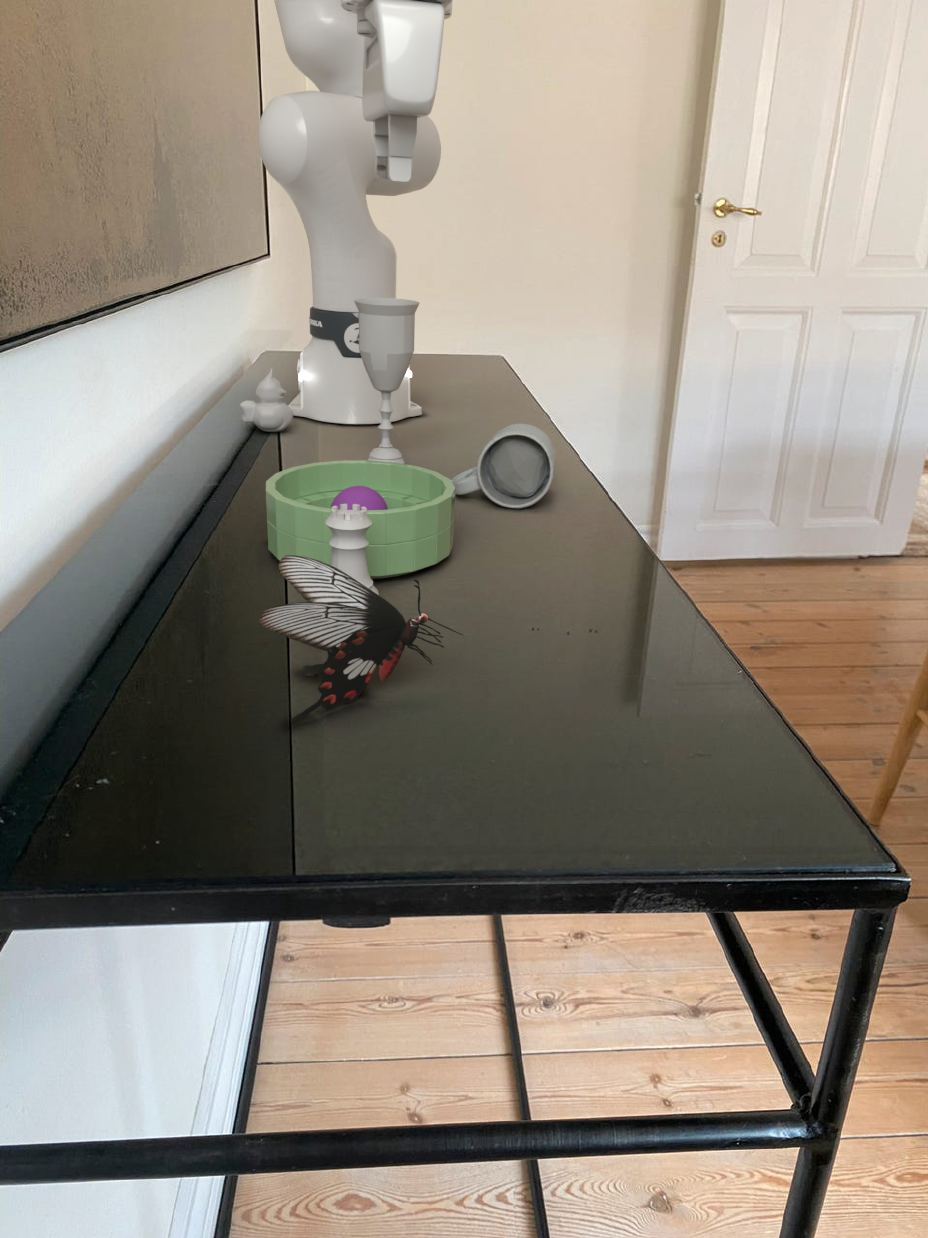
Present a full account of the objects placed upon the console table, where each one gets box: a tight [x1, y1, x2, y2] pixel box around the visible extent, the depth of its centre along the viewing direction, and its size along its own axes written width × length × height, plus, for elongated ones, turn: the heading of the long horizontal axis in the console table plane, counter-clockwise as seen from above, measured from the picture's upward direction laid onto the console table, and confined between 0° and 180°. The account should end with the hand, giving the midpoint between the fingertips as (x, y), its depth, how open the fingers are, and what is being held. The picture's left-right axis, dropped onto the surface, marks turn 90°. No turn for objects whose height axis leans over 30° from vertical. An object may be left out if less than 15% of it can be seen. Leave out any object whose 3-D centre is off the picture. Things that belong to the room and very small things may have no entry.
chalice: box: [354, 298, 420, 464], centre depth 100 cm, size 7×7×18 cm
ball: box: [330, 486, 388, 510], centre depth 79 cm, size 5×5×5 cm
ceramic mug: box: [450, 423, 557, 509], centre depth 95 cm, size 11×8×8 cm
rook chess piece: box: [325, 504, 380, 596], centre depth 66 cm, size 4×4×8 cm
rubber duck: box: [239, 368, 294, 433], centre depth 117 cm, size 5×7×8 cm
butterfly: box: [258, 555, 464, 725], centre depth 54 cm, size 11×8×10 cm
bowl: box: [265, 459, 456, 580], centre depth 79 cm, size 16×16×6 cm
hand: (392, 180), depth 79 cm, fingers open, 8 cm apart
